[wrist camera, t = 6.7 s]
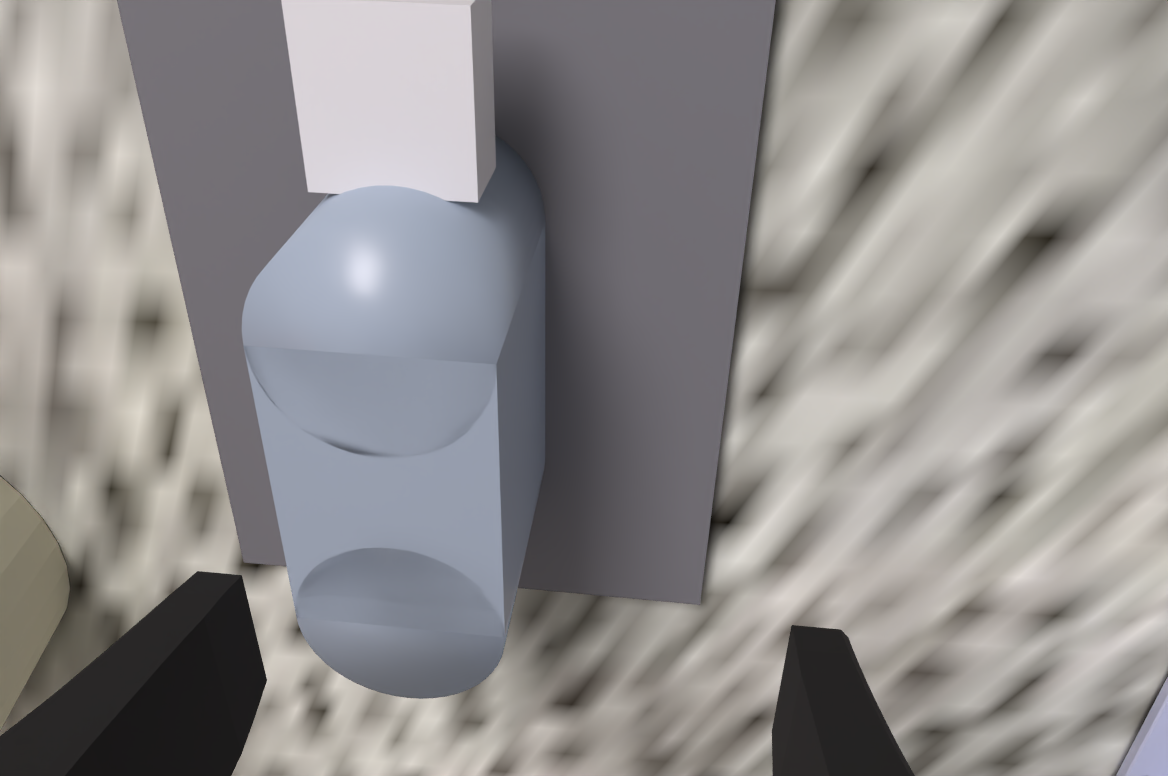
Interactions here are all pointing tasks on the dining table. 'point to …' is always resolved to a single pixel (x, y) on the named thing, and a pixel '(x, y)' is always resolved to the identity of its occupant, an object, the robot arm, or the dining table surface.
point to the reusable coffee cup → (26, 592)
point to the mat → (572, 249)
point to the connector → (403, 348)
